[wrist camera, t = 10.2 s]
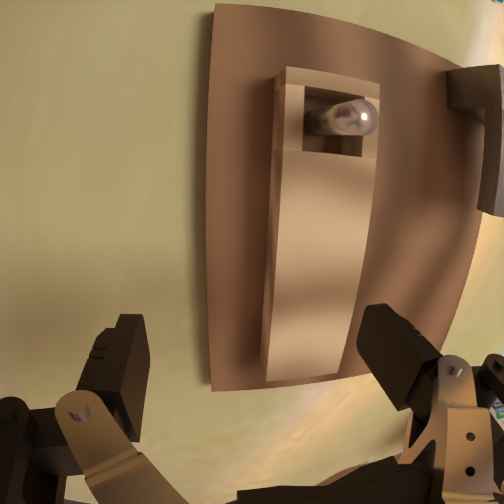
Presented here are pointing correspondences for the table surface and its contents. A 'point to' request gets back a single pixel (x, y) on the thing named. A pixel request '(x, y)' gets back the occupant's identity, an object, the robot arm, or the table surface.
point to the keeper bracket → (492, 116)
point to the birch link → (314, 230)
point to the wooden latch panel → (330, 141)
